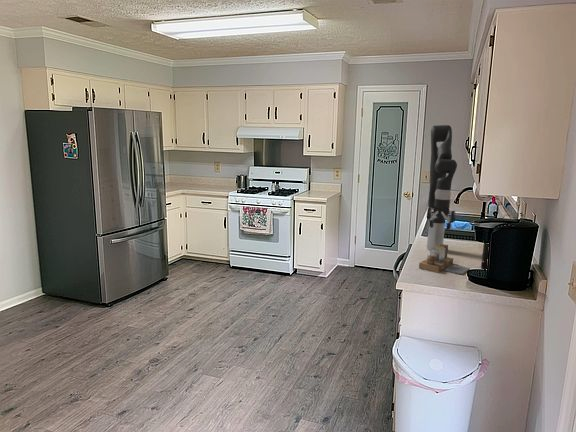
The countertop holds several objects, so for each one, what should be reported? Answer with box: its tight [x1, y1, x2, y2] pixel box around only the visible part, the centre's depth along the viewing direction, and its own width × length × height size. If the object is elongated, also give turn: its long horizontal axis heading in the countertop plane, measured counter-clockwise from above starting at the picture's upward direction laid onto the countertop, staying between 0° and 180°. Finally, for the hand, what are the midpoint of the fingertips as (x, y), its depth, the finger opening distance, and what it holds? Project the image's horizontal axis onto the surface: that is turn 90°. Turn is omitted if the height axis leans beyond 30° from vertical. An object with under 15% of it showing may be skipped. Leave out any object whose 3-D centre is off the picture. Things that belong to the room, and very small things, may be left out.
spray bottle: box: [480, 242, 489, 271], centre depth 221 cm, size 10×10×25 cm
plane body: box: [418, 243, 454, 273], centre depth 228 cm, size 22×10×10 cm, turn 140°
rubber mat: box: [443, 264, 471, 276], centre depth 222 cm, size 12×9×1 cm
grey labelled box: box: [429, 245, 445, 262], centre depth 228 cm, size 8×5×7 cm, turn 140°
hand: (439, 228), depth 225 cm, fingers open, 8 cm apart
